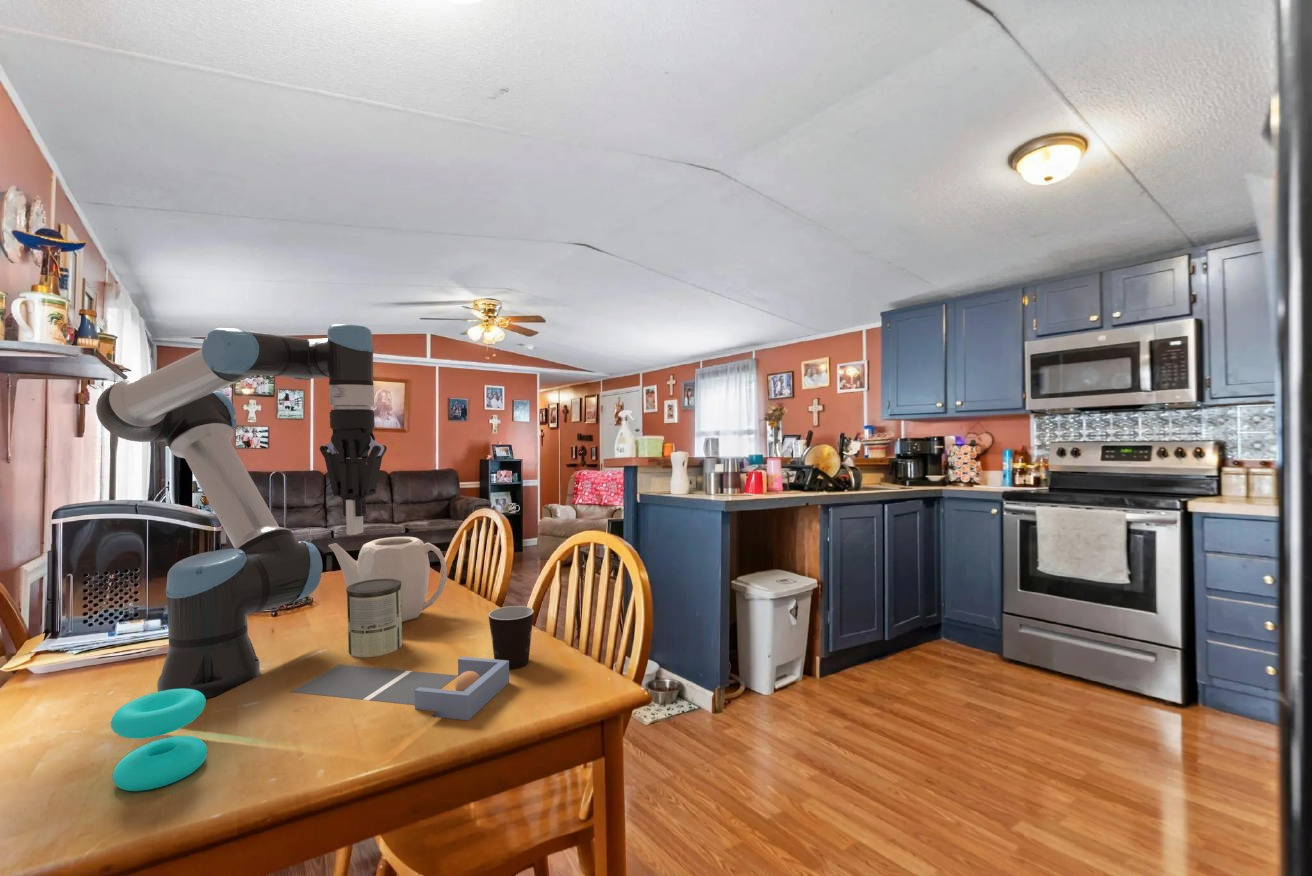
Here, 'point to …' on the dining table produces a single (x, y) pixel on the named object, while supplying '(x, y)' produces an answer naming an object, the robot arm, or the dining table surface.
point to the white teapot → (395, 569)
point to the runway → (373, 684)
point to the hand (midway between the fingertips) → (355, 533)
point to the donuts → (162, 756)
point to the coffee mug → (511, 634)
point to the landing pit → (473, 697)
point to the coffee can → (374, 617)
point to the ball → (466, 680)
